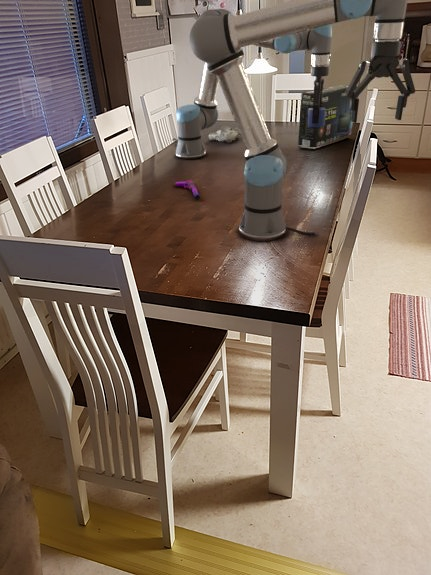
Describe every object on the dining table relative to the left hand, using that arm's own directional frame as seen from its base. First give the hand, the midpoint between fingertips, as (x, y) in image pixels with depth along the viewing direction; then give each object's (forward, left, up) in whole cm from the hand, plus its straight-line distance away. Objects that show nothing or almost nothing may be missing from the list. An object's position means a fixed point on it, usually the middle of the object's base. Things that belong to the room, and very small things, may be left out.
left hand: (316, 121), depth 207 cm
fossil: (-61, -18, -18) cm, 66 cm away
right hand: (+67, -27, +14) cm, 74 cm away
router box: (-25, +25, -18) cm, 39 cm away
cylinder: (0, 0, -2) cm, 2 cm away
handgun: (+10, -68, -18) cm, 71 cm away
